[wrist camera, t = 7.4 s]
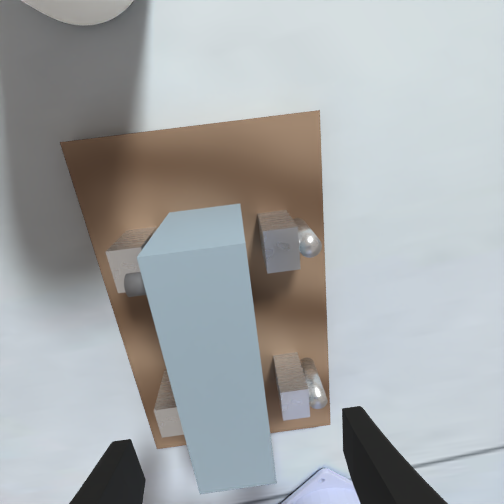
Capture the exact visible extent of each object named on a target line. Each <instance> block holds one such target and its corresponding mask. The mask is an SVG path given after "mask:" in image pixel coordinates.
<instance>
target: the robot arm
mask: <svg viewBox="0 0 504 504" xmlns="http://www.w3.org/2000/svg"><path fill="white" fill-rule="evenodd" d="M342 420H343V452H344V455H345V459H346V462H347V466H348V469H349V472H350V476H351V479H352V481H351V480H349V479H347V478H345V477H343V476H341V475H339V474H337V473H336V472H334V471H332V470H330V469H328V468H323V469H321V470H319V471H318V472H317V473H316V474H315V475H314V476H313V477H311V478H310V479H309V480H308V481H307V482H306V483H304V484H303V485H302V486H301V487H300V488H299V489H297V490H296V491H295V492H294V493H293V494H292V495H290V496H289V497H288V498H287V499H286V500H285V501H283V502H282V503H281V504H448V503H447V502H446V501H445V500H444V499H443V498H441V497H440V495H439V494H438V493H437V492H436V491H435V490H434V489H433V488H432V487H431V486H430V485H429V484H428V483H427V482H426V481H425V480H424V479H423V478H422V477H421V476H420V475H419V474H418V473H417V472H416V471H415V470H414V468H413V467H412V466H411V465H410V464H409V463H408V462H407V461H406V460H405V458H404V457H403V456H402V455H401V454H400V453H399V452H398V451H397V450H396V448H395V447H394V446H393V445H392V444H391V443H390V441H389V440H388V439H387V438H386V437H385V435H384V434H383V433H382V432H381V431H380V429H379V428H378V427H377V426H376V424H375V423H374V422H373V421H372V419H371V418H370V417H369V415H368V414H367V413H366V412H365V410H364V409H363V408H362V407H361V406H357V407H350V408H343V409H342ZM144 487H145V477H144V474H143V472H142V469H141V466H140V463H139V461H138V458H137V455H136V452H135V449H134V447H133V444H132V441H131V439H128V440H121V441H114V442H112V443H111V444H110V446H109V447H108V449H107V450H106V452H105V453H104V455H103V456H102V457H101V459H100V460H99V462H98V463H97V465H96V466H95V468H94V469H93V471H92V472H91V474H90V475H89V477H88V478H87V479H86V481H85V482H84V484H83V485H82V487H81V488H80V490H79V491H78V492H77V494H76V495H75V497H74V498H73V499H72V501H71V502H70V503H69V504H142V501H143V494H144Z"/></svg>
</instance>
